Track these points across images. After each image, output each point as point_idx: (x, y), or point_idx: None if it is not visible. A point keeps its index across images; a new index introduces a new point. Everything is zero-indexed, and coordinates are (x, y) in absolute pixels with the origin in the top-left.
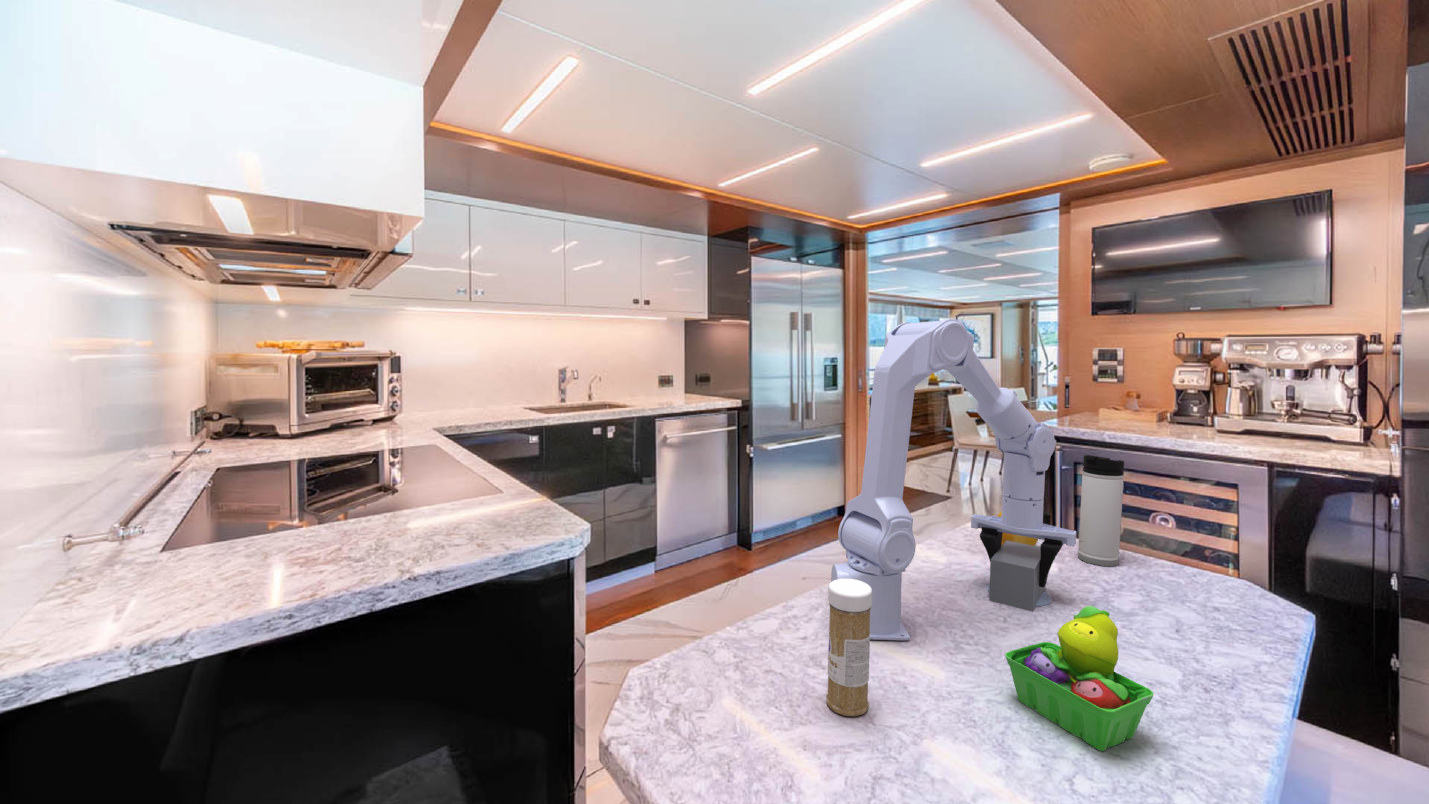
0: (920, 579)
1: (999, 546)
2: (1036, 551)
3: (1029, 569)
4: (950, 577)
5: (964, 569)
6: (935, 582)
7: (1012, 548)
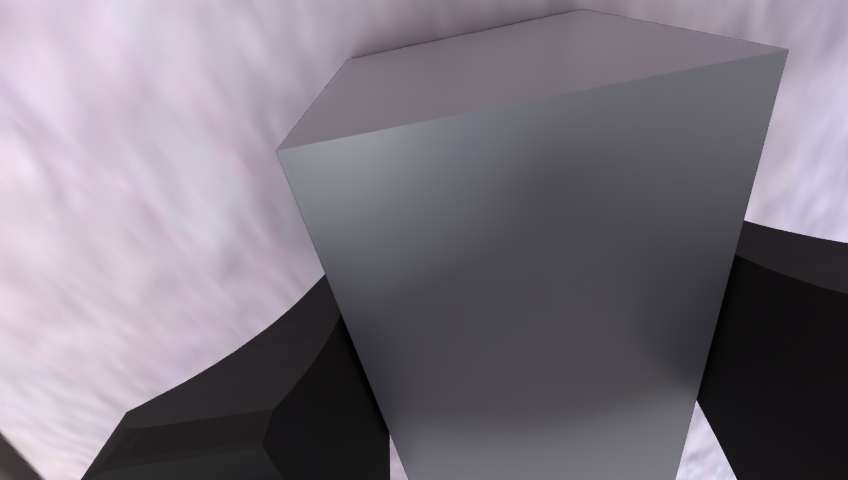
0: (143, 358)
1: (356, 381)
2: (660, 254)
3: None
4: (176, 256)
5: (106, 89)
6: (195, 343)
7: (450, 332)
